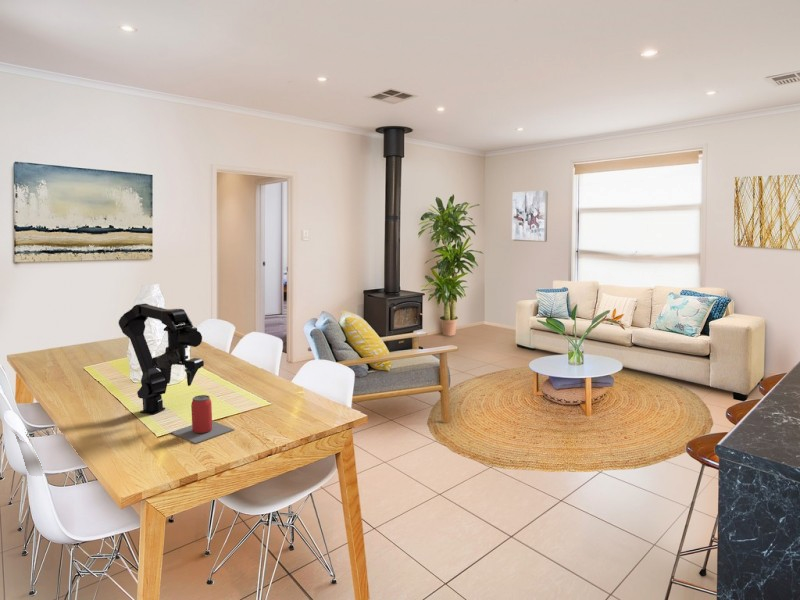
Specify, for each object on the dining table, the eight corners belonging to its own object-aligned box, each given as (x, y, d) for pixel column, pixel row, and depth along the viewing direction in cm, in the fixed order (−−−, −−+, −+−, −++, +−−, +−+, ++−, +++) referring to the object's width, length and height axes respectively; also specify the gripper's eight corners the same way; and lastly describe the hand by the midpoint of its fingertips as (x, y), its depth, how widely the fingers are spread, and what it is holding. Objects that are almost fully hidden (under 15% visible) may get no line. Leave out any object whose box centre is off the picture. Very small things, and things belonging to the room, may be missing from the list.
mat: (170, 433, 179) (170, 432, 179) (208, 420, 191) (208, 419, 191) (195, 444, 170) (195, 443, 170) (234, 430, 182) (234, 429, 182)
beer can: (214, 426, 185) (212, 394, 183) (210, 433, 178) (209, 400, 176) (194, 427, 183) (193, 394, 182) (190, 434, 177) (188, 401, 175)
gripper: (139, 346, 184) (141, 388, 186) (183, 350, 179) (185, 393, 181) (161, 339, 194) (163, 379, 197) (203, 343, 189) (205, 384, 192)
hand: (178, 384), depth 191 cm, fingers open, 9 cm apart
